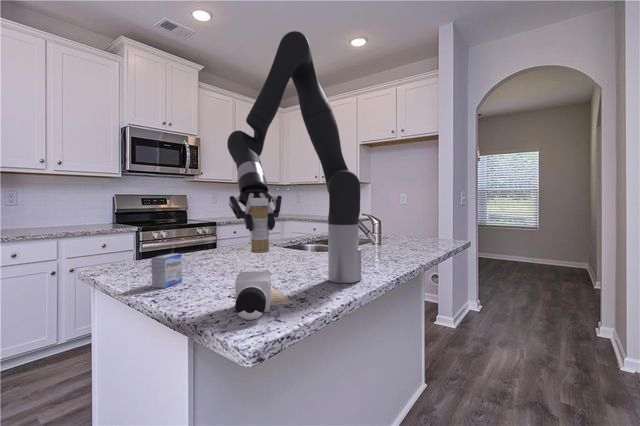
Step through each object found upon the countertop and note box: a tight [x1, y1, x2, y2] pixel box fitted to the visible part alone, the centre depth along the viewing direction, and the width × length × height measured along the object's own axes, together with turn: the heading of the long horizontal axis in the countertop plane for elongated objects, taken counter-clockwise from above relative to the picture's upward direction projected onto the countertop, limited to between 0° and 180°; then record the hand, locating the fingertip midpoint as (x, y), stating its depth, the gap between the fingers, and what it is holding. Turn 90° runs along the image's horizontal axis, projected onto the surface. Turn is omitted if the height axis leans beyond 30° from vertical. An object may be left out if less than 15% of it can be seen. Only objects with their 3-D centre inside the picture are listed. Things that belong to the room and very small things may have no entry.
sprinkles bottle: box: [250, 198, 270, 254], centre depth 81 cm, size 5×5×13 cm
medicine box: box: [150, 253, 183, 289], centre depth 96 cm, size 8×4×9 cm, turn 168°
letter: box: [233, 289, 293, 307], centre depth 81 cm, size 12×13×1 cm
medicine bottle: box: [234, 270, 272, 321], centre depth 71 cm, size 7×7×12 cm
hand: (261, 228), depth 79 cm, fingers closed on sprinkles bottle, 4 cm apart
